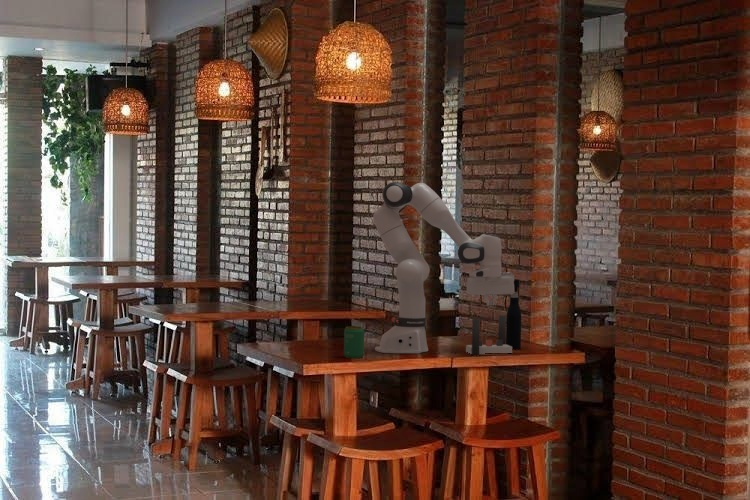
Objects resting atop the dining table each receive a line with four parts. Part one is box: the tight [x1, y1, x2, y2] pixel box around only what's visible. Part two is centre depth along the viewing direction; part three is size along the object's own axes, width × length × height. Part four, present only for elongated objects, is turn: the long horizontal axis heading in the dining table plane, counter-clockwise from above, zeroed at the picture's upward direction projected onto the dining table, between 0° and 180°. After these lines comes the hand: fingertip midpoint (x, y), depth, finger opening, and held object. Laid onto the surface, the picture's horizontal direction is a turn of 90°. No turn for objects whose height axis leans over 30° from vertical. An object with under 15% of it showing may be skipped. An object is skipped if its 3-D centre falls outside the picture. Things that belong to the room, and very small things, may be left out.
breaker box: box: [465, 344, 513, 355], centre depth 444 cm, size 18×7×3 cm, turn 102°
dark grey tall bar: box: [471, 318, 481, 356], centre depth 436 cm, size 3×3×15 cm
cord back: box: [497, 314, 507, 345], centre depth 452 cm, size 3×3×15 cm
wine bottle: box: [505, 278, 522, 350], centre depth 458 cm, size 6×6×30 cm
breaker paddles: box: [479, 339, 503, 346], centre depth 444 cm, size 11×1×2 cm, turn 102°
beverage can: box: [343, 325, 365, 359], centre depth 425 cm, size 8×8×12 cm
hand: (490, 305), depth 443 cm, fingers closed
